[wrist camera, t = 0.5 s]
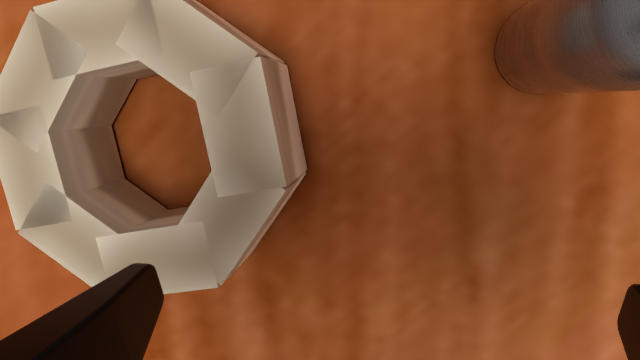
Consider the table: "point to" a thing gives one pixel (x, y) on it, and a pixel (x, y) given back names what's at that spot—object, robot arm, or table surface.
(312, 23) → the table surface
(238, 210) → the cream octagonal ring
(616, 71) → the bottle
